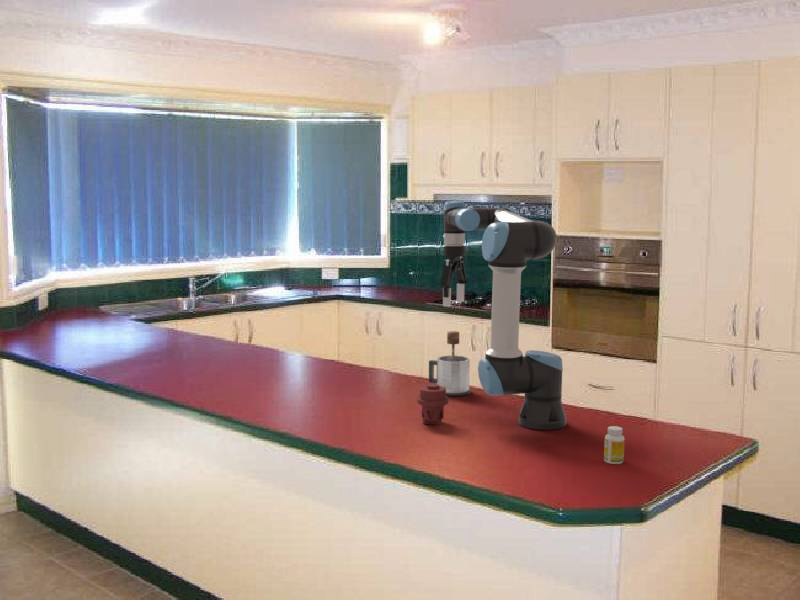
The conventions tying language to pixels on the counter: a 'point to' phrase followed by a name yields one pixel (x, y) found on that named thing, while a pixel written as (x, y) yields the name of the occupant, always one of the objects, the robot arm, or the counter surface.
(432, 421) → the mechanical component
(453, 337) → the plunger
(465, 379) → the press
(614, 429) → the supplement bottle
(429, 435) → the counter surface
